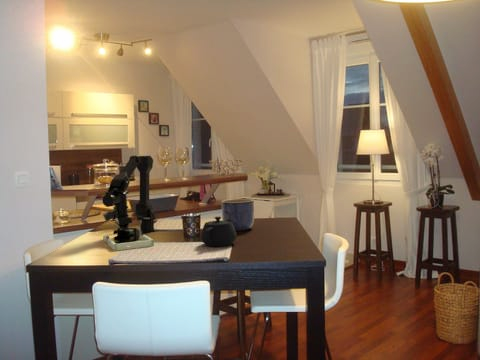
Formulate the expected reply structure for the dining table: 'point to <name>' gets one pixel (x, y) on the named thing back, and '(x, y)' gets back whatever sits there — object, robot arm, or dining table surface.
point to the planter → (239, 213)
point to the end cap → (126, 235)
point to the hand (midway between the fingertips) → (122, 236)
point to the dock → (108, 237)
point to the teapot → (218, 233)
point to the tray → (132, 244)
